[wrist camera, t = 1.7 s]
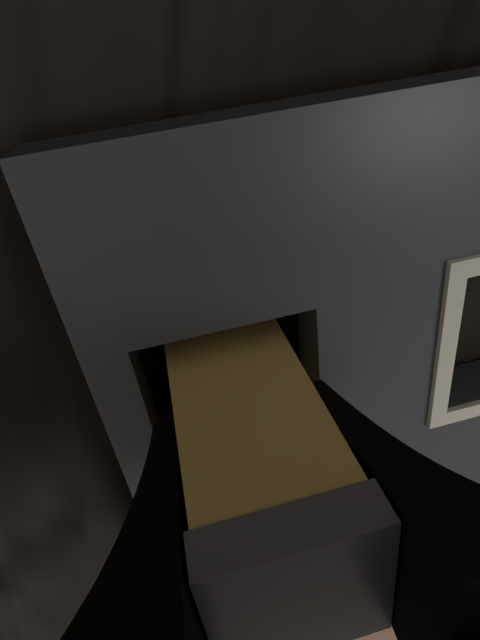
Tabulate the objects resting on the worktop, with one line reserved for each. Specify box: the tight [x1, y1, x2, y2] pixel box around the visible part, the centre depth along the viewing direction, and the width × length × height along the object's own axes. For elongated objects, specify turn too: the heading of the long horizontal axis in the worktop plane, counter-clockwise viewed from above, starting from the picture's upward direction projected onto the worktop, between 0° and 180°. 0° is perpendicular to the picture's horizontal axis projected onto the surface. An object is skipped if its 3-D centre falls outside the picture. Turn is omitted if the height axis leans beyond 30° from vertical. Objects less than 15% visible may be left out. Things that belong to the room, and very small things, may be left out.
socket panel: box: [0, 66, 480, 498], centre depth 15 cm, size 18×16×2 cm
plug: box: [164, 319, 401, 640], centre depth 12 cm, size 4×4×8 cm
